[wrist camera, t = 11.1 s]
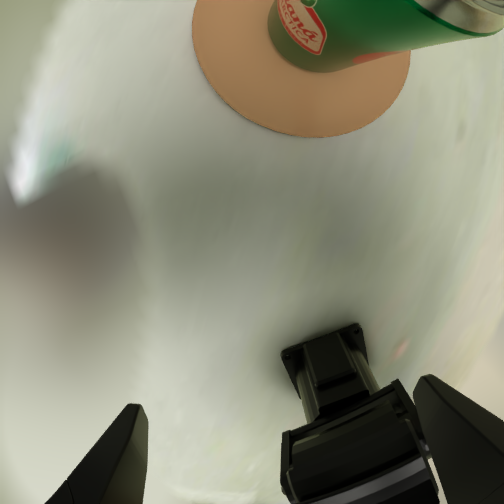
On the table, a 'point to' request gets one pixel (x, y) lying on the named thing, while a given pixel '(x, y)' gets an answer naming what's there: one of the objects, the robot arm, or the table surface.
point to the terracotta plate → (287, 75)
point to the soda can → (373, 28)
